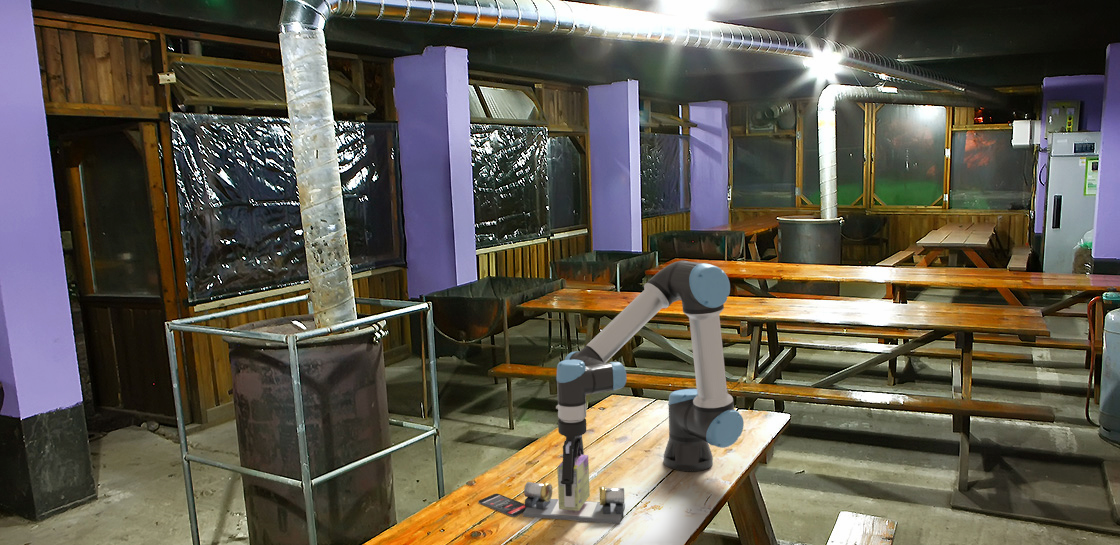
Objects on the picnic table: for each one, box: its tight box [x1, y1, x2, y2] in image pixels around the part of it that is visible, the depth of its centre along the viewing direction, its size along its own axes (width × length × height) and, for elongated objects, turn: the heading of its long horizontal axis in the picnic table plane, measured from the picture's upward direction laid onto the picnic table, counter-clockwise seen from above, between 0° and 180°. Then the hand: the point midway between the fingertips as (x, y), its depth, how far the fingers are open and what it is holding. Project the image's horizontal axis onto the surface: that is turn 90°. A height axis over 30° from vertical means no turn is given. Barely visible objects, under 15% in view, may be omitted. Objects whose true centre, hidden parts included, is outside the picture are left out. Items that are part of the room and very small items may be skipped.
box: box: [556, 454, 591, 511], centre depth 205 cm, size 10×6×12 cm, turn 161°
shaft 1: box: [523, 481, 553, 510], centre depth 208 cm, size 6×5×7 cm
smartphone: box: [477, 493, 525, 518], centre depth 211 cm, size 7×1×15 cm
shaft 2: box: [599, 486, 625, 519], centre depth 204 cm, size 6×5×7 cm
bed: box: [522, 498, 626, 525], centre depth 206 cm, size 26×10×1 cm, turn 77°
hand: (574, 497), depth 205 cm, fingers closed on box, 11 cm apart
